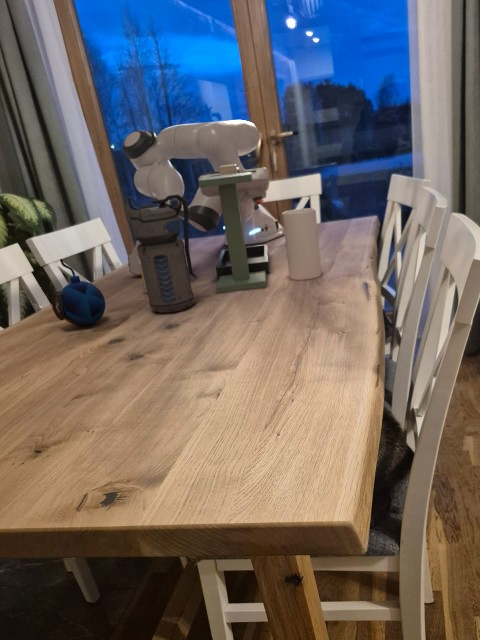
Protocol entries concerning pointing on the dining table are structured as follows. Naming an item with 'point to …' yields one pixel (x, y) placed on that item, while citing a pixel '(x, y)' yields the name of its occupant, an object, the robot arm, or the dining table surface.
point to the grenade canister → (163, 252)
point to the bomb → (78, 302)
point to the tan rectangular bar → (228, 169)
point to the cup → (302, 243)
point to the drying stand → (234, 234)
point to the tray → (255, 257)
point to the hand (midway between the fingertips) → (231, 168)
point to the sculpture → (134, 260)
